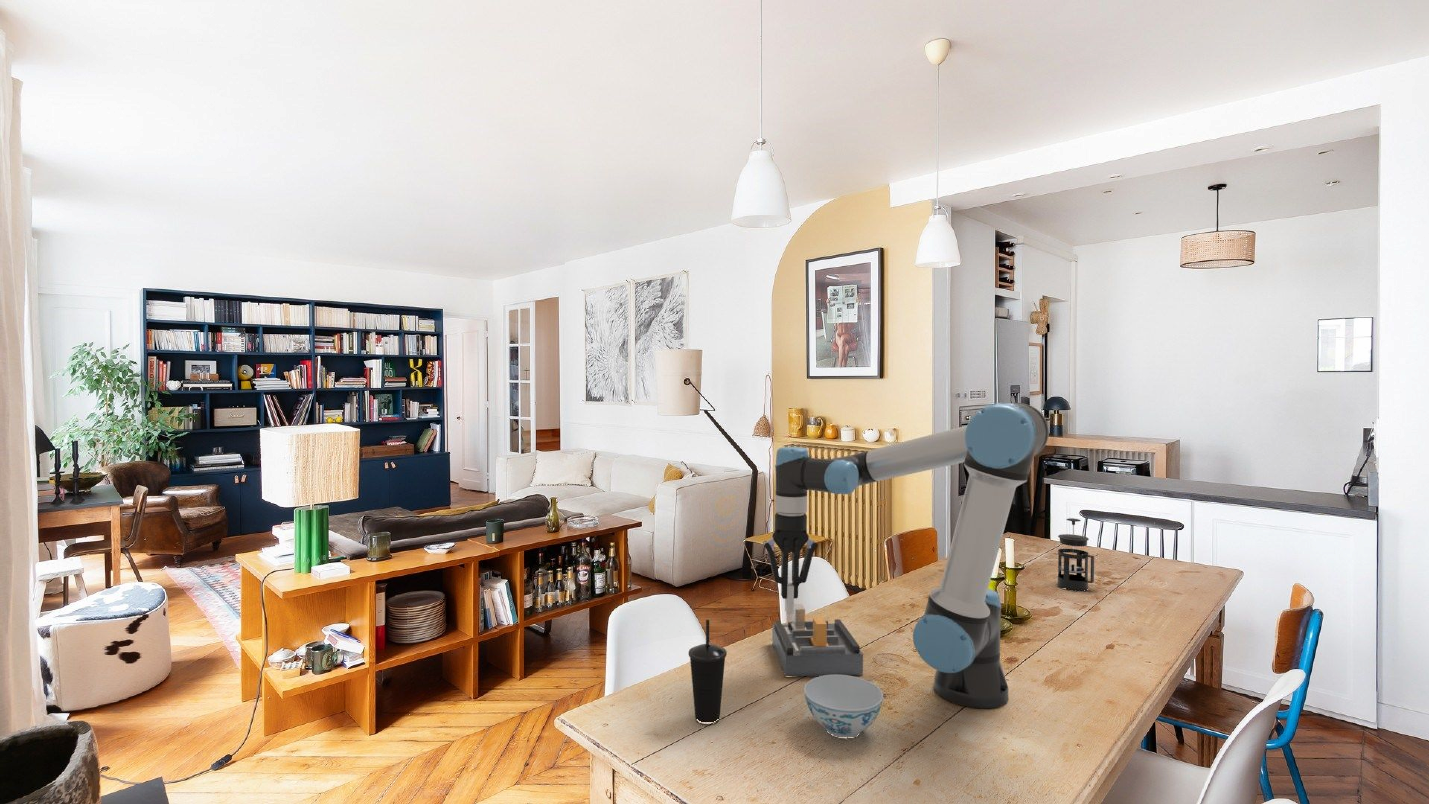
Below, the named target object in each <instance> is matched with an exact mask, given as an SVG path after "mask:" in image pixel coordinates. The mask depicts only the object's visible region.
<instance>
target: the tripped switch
mask: <svg viewBox="0 0 1429 804" xmlns="http://www.w3.org/2000/svg"><path fill="white" fill-rule="evenodd" d="M812 621H813V638H811V643H812V644H813V646H829V645H828V644H827V624H826V622H825V619H824V618H823V617H816V618H815V617H814V618H812Z"/></svg>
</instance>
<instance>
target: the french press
mask: <svg viewBox="0 0 1429 804" xmlns="http://www.w3.org/2000/svg"><path fill="white" fill-rule="evenodd" d="M1065 520H1066V521H1069V522H1071V525H1072V534H1067V533H1064V534H1058V536H1057V537H1058V538H1059V543H1060V544H1062V545H1065V546H1069V547H1070V546H1071V547H1072V548H1059V549H1058V550H1057V555H1058V557H1057V558H1058V562H1057V564H1058V565H1057V566H1058V568H1057V569H1058V571H1057V574H1058V575H1057V583H1056V586H1057V585H1058V586H1059V587H1060V588H1059V587H1058V586H1057V587H1058V588H1059V589H1061V588H1066V589H1069V590H1076V591H1075V592H1077V591H1083V592H1085V591H1084V590H1087V589H1088V588H1089V584H1093V583H1095V556H1094V555H1092V554H1089V552H1088V551H1085V550H1082V549H1077V548H1075V547H1086V546H1088V541H1089V537H1087V536H1085V535H1084V536H1083V535H1079V534H1075V525H1076V522H1081V519H1079V518H1073V517H1071V518H1070V517H1069V518H1065ZM1070 553H1071V554H1070ZM1062 558H1063V564H1062ZM1089 558H1090V580H1089V575H1088V574H1089ZM1070 559H1072V562H1071V563H1072V564H1071V565H1070ZM1074 560H1076V564H1074V562H1075V561H1074ZM1083 560H1084V567H1083ZM1062 572H1063V573H1062ZM1083 574H1084V576H1083ZM1089 589H1090V588H1089ZM1069 590H1068V591H1069Z"/></svg>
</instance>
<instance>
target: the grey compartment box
mask: <svg viewBox="0 0 1429 804" xmlns="http://www.w3.org/2000/svg"><path fill="white" fill-rule="evenodd" d="M824 620H825V619H824ZM825 622H826V624H827V644H828V645H829V646H813V644H812V643H811V638H813V620H806V609H805V607H804V605H803V604H802V603H795V604H794V612H793V614H792V621H791V620H790V621H789V620H788V621H787V624H782V621H781V620H775V621H774V624H772V627H771V628H772V630H771V631H772V634H771V635H772V636H771V637H772V638H771V639H772V642H771V643H772V646H773V649H774V652H775V654H776V657H777V659H778V661H780V662H779V665H780V667H781V670H782V672H783V671H784V672H783V673H785V674H784V676H824V675H848V676H852V675H858V676H864V653H863V652H862V650H860V648H861V646H860V644H859V643H858V642H857V640H856V639H855V638H854V636H853V635H852V634H851V633H850V631H849V630H848V629H847V627H846V626H845V624H844V623H843V622H842V620H841V619H839V618H838V619H837V618H836V619H834V623H829V620H825Z"/></svg>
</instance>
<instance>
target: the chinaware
mask: <svg viewBox="0 0 1429 804" xmlns="http://www.w3.org/2000/svg"><path fill="white" fill-rule="evenodd" d="M803 692H804V697H805V701H806V702H805V703H806V704H807V707H808V710H809V711H810V714H811V715H812V716H813V718H814V719H815V720H816V721H817V722H818V723H819V724H820V725H821V727H823V728H826V729H825V731H826V730H827V731H828V732H829V733H830V734H833V735H834V736H837V737H847V738H848V737H856V736H857V735H858V734H860V735H861V733H862V731H865V730H866V729H867V728H869V727H870V726H871V725H872V724H873V723H874V722H875V720H876V719H877V717H878V715H879V713H880V710H881V709H882V704H883V702H884V701H883V700H884V694H883V691H882V689H881V688H879V686H878V685H876V684H875V683H874V682H871V681H869V680H867V679H865V678H862V677H858V676H848V675H824V676H820V677H813V678H812V679H810V680H808V681H807V682H806V683H805V685H804V687H803ZM860 732H861V733H860ZM856 738H857V737H856Z"/></svg>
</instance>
